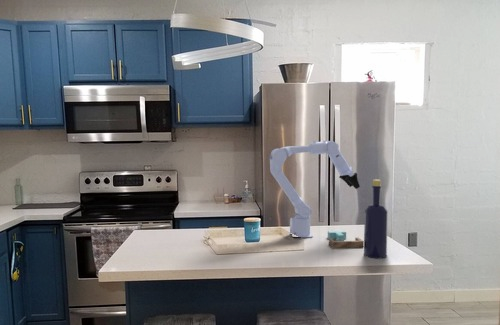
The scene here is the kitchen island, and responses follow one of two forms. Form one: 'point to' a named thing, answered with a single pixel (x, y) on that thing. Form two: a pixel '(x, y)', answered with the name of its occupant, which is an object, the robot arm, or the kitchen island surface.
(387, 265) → the kitchen island surface
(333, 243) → the wooden drawer handle
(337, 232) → the t block
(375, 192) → the bottle
